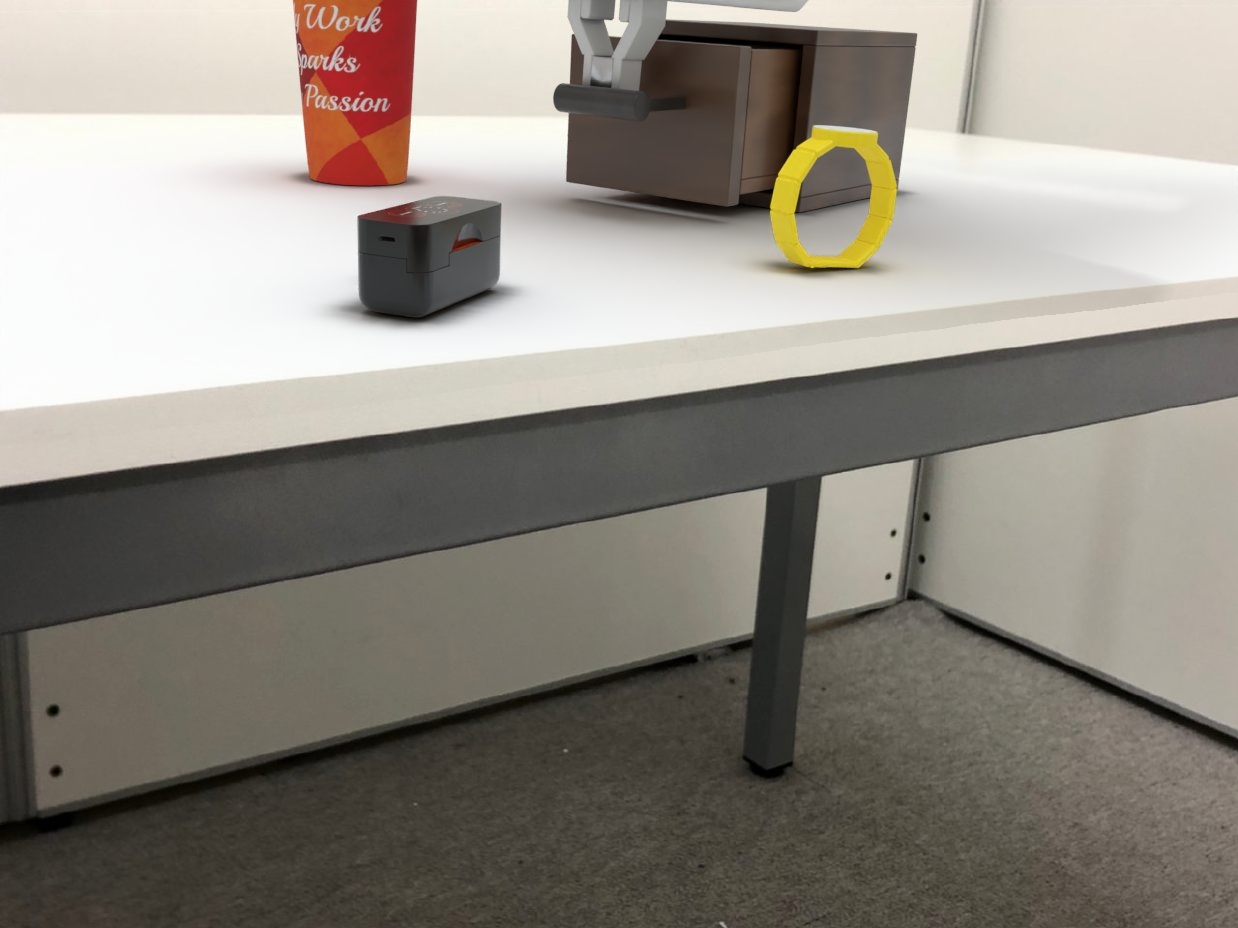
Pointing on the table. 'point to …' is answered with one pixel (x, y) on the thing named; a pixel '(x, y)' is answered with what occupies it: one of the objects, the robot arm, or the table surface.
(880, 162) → the watch
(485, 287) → the wireless earbuds
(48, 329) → the table surface
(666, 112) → the drawer
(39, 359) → the table surface
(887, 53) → the cabinet
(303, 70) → the paper cup
